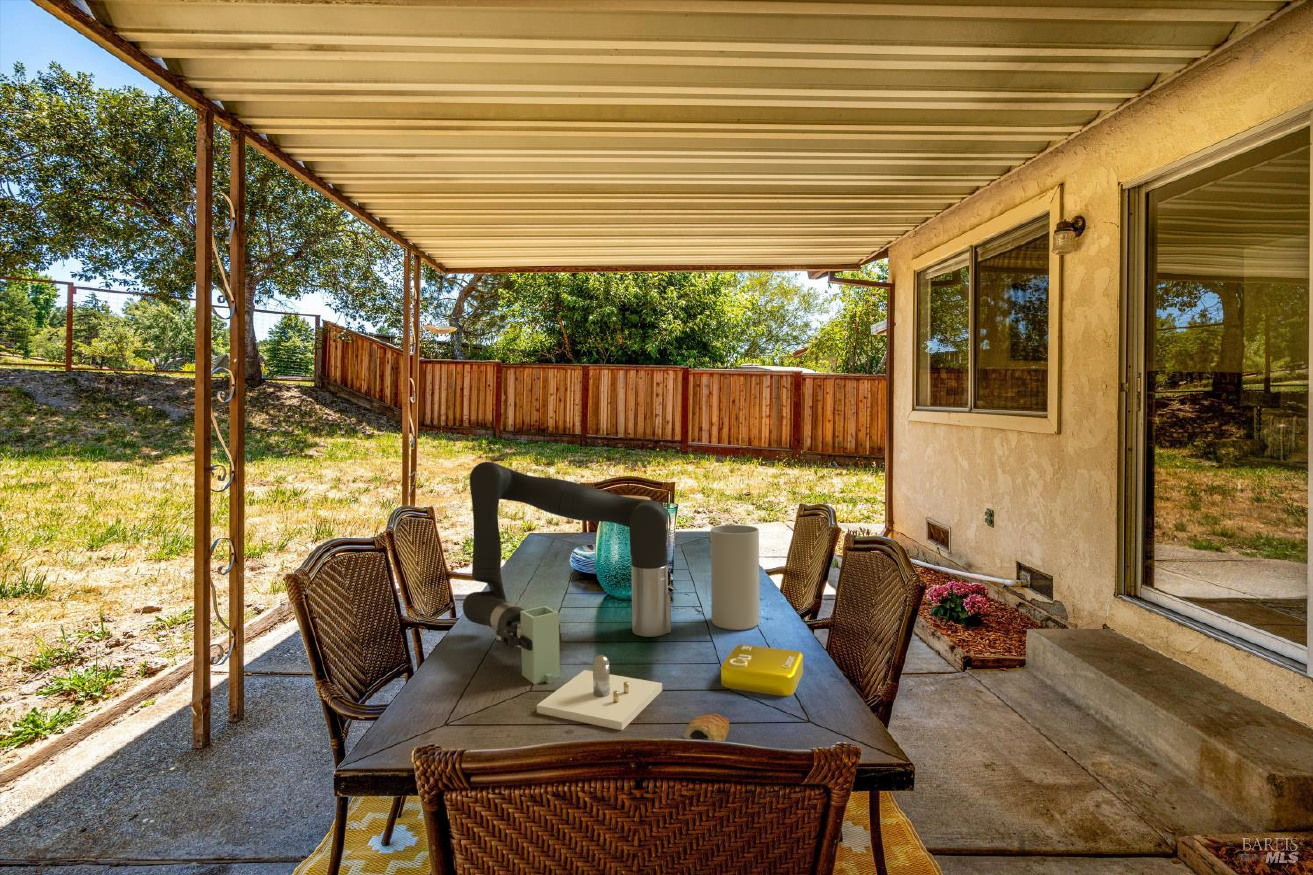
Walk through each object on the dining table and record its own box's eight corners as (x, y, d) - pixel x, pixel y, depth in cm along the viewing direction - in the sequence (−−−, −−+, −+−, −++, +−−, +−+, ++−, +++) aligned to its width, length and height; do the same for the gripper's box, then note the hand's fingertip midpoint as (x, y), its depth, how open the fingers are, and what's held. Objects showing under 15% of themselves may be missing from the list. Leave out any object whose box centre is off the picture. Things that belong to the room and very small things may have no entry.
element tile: (792, 699, 132) (792, 675, 131) (718, 688, 137) (718, 665, 137) (804, 670, 146) (804, 649, 145) (737, 661, 151) (737, 641, 151)
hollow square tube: (522, 675, 144) (520, 611, 143) (547, 668, 148) (545, 605, 147) (537, 686, 138) (536, 619, 137) (563, 679, 142) (562, 614, 141)
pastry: (704, 721, 123) (704, 700, 122) (738, 730, 119) (739, 709, 119) (680, 744, 114) (680, 722, 114) (716, 754, 111) (716, 731, 111)
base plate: (536, 712, 126) (535, 665, 126) (584, 676, 143) (583, 634, 142) (622, 730, 119) (621, 680, 119) (662, 690, 135) (661, 646, 135)
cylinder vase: (705, 627, 173) (704, 532, 172) (719, 613, 185) (718, 523, 183) (752, 633, 168) (752, 535, 167) (764, 618, 180) (763, 526, 179)
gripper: (481, 612, 150) (513, 632, 137) (540, 600, 159) (575, 618, 145) (482, 645, 151) (514, 668, 137) (540, 631, 159) (575, 652, 145)
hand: (545, 642), depth 141 cm, fingers closed on hollow square tube, 6 cm apart
